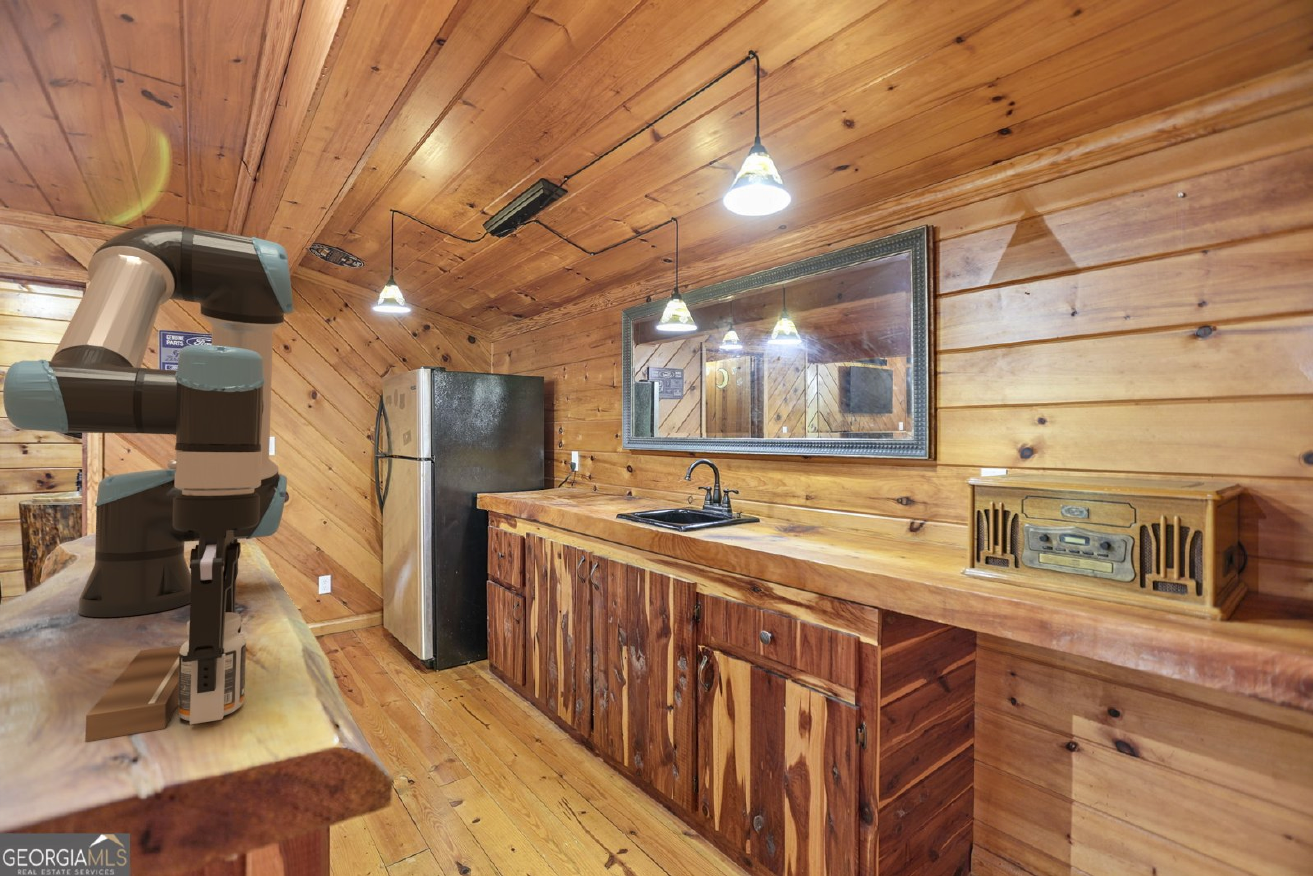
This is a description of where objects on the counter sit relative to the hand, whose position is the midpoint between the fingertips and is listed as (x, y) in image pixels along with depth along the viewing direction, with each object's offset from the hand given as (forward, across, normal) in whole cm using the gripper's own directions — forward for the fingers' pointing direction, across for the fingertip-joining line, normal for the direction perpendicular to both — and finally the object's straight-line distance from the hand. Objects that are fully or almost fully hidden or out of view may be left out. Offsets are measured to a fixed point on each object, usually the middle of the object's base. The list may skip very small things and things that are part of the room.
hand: (211, 707), depth 64 cm
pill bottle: (+1, 0, 0) cm, 1 cm away
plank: (+1, -8, -7) cm, 10 cm away
